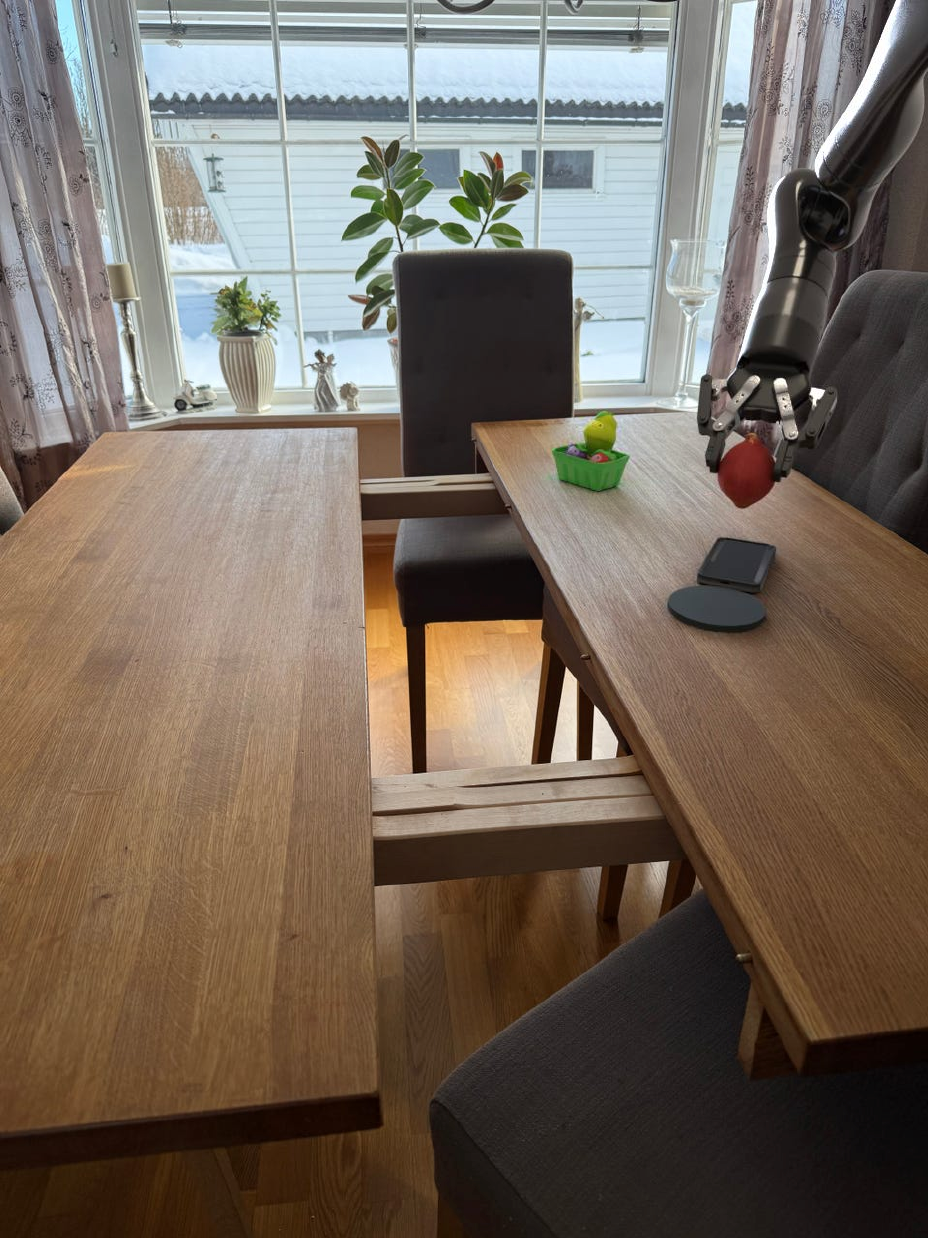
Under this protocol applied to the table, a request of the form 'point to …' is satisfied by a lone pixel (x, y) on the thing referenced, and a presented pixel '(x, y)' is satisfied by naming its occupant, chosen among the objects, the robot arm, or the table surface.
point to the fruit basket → (593, 456)
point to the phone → (737, 564)
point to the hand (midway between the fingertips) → (744, 473)
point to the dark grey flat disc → (716, 608)
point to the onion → (746, 472)
